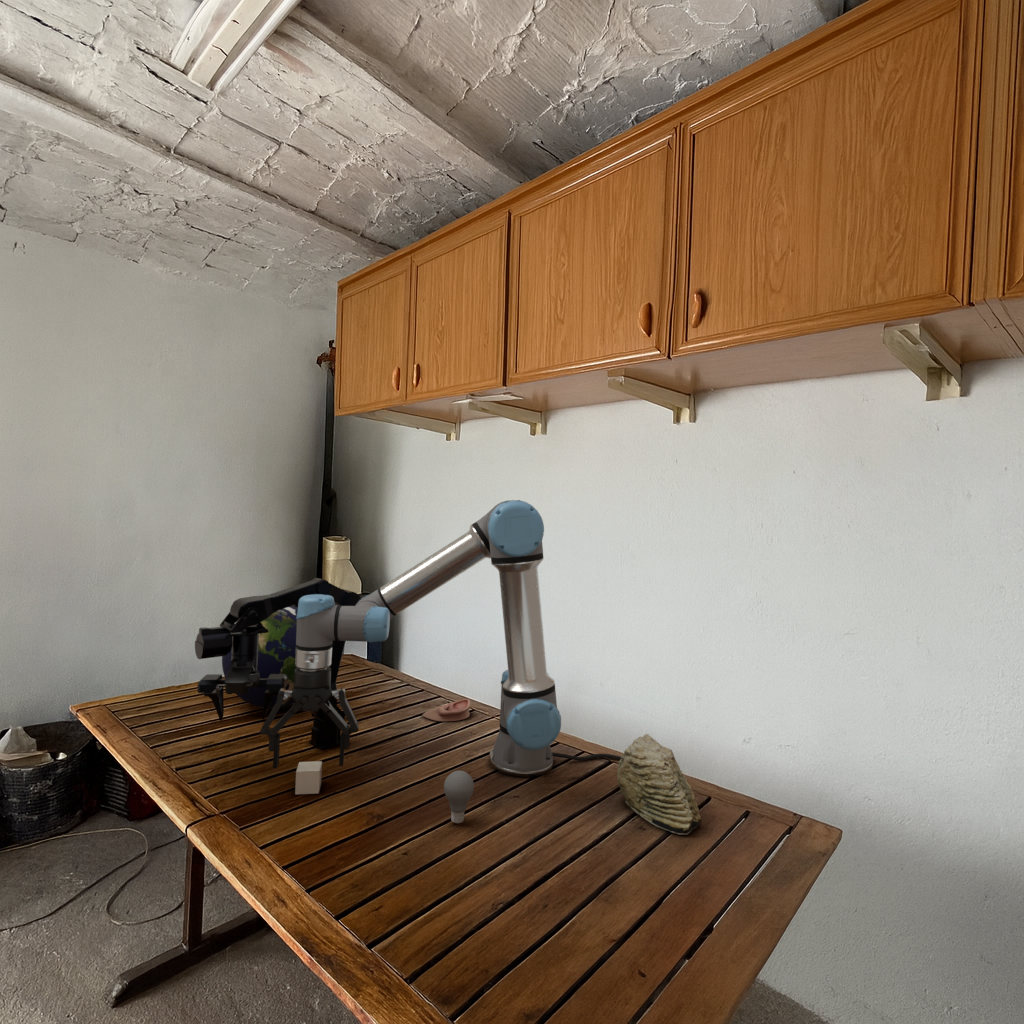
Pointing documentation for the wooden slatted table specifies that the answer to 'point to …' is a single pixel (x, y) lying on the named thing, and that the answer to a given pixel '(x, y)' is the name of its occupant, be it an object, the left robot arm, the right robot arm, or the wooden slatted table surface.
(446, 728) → the wooden slatted table surface
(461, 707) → the anatomical model
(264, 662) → the globe
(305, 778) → the block
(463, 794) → the light bulb
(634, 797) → the fossil
